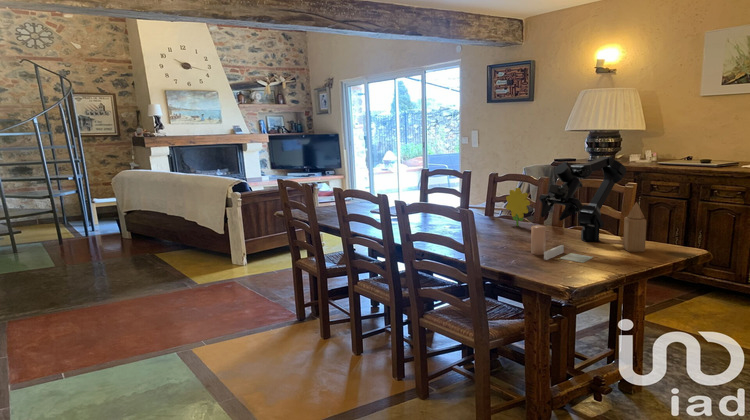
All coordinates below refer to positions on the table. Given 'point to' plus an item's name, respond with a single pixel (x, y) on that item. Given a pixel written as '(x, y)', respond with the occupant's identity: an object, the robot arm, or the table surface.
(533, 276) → the table surface
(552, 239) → the table surface
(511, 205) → the decorative item
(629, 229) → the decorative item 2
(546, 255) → the low wall
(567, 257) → the tile
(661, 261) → the table surface
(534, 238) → the tan round cylinder
